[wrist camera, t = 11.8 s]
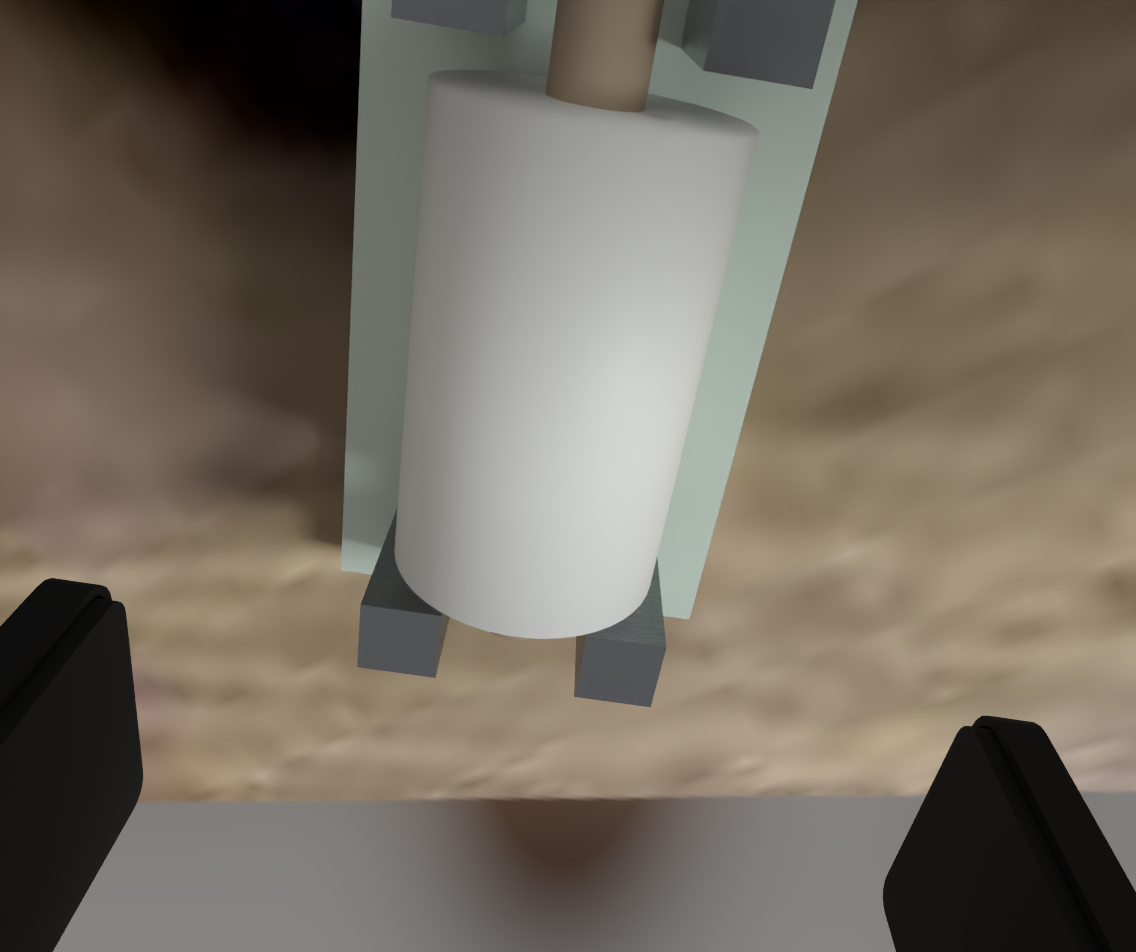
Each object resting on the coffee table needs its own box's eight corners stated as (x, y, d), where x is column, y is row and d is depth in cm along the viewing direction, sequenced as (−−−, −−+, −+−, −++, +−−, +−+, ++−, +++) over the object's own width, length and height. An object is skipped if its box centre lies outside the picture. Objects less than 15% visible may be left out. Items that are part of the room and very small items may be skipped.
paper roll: (765, 13, 20) (811, 27, 14) (638, 567, 27) (634, 725, 22) (470, -39, 20) (397, -45, 14) (421, 529, 27) (358, 677, 22)
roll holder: (864, -73, 21) (964, -88, 15) (686, 596, 30) (706, 743, 24) (380, -159, 20) (294, -209, 15) (350, 548, 29) (290, 687, 24)
